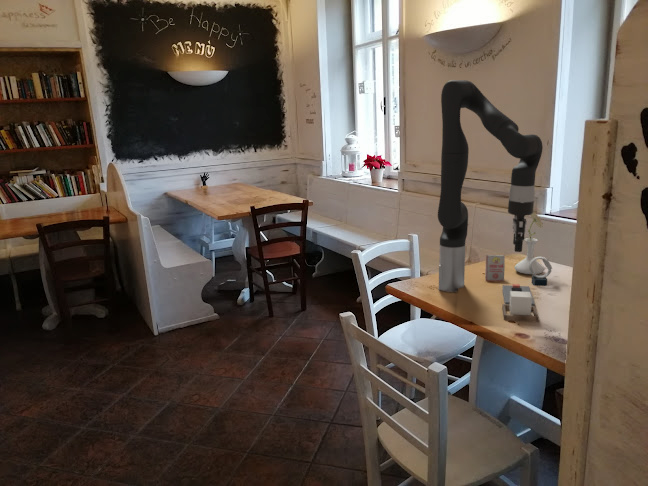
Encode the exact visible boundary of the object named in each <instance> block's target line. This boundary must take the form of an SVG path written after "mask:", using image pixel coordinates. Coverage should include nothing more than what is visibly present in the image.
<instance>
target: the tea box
mask: <svg viewBox="0 0 648 486" xmlns="http://www.w3.org/2000/svg"><path fill="white" fill-rule="evenodd" d="M505 261H506V260H505V255H502V254H501V255H500V254H499V255H496V254H493V255H492V254H486V256H485V275H484V279H485V281H486V282H505V269H506V267H505V266H506V265H505V264H506V263H505Z"/></svg>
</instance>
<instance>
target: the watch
mask: <svg viewBox="0 0 648 486" xmlns="http://www.w3.org/2000/svg"><path fill="white" fill-rule="evenodd" d="M535 260H537V261H538V260H542V262H543V264H544V266H545V268H546V269H547V272H546V273H545V274H535V273H534V272H533V269H532V265H531V264H532V262H534V261H535ZM529 269H530V271H531V273H532V274H531V284H532V285H533V286H534V287H538V286H539V287H541V286H542V287H548V278H547V277H549V276H550V274H551V273H552V270H553V267H552V265H551V263H550V261H549V259H547V257H544V256H541V255H539V256H535V257H534V258H533V259H532V260H531V261H530V263H529Z"/></svg>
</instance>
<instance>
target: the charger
mask: <svg viewBox="0 0 648 486" xmlns="http://www.w3.org/2000/svg"><path fill="white" fill-rule="evenodd" d="M531 293H532V292H531ZM531 293H530V292H520V291H510V303H509V315H524V316H532V311H531V304H532V297H533V295H532V296H531Z"/></svg>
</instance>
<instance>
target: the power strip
mask: <svg viewBox="0 0 648 486" xmlns="http://www.w3.org/2000/svg"><path fill="white" fill-rule="evenodd" d="M501 291H502V296H503V301H504V303H503V304H508V305H509V303H510V291H520V292H530V293H531V296H532V304H531V306H535V305H536V303H535V300H534V297H533V294H532V290H531V287H530V286H528V285H521V284H519V283H512V285H509V284H508V285H504V284H503V285H502V290H501ZM535 307H536V306H535Z"/></svg>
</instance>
